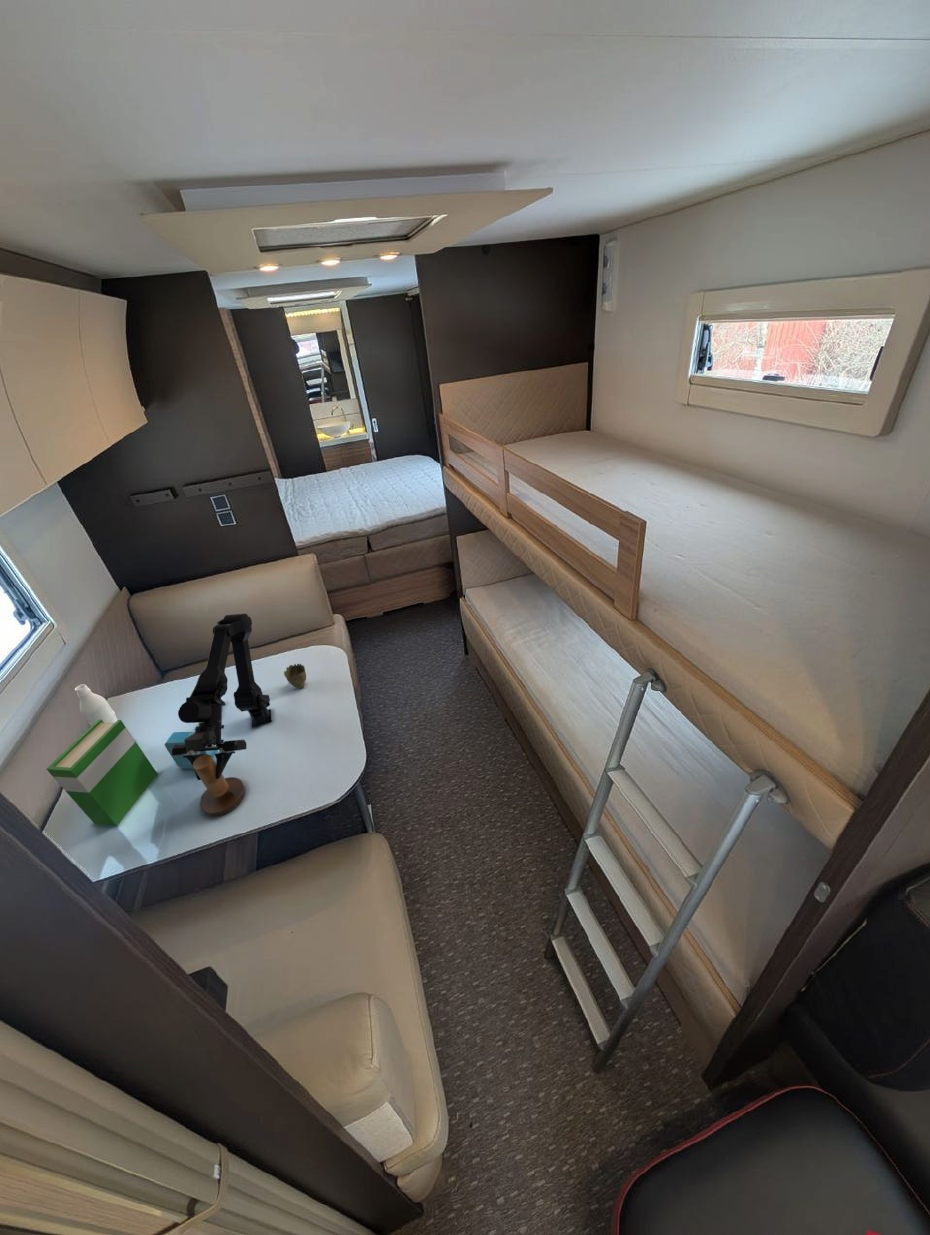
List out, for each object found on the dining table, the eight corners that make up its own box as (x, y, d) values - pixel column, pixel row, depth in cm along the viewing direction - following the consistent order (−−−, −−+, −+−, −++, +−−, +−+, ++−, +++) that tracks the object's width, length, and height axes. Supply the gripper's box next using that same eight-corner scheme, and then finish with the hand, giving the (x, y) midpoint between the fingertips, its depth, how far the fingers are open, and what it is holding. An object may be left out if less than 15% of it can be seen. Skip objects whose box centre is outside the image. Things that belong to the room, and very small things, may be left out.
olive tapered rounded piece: (304, 693, 175) (298, 676, 171) (286, 692, 177) (279, 675, 172) (313, 680, 181) (307, 663, 177) (296, 678, 183) (290, 662, 178)
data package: (221, 756, 153) (207, 730, 146) (215, 768, 149) (199, 742, 143) (186, 757, 154) (170, 731, 147) (179, 769, 150) (162, 743, 144)
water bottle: (133, 740, 163) (96, 685, 149) (110, 753, 159) (69, 698, 145) (127, 730, 167) (90, 676, 154) (104, 743, 163) (64, 688, 149)
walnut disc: (204, 790, 143) (201, 785, 141) (246, 775, 146) (243, 771, 144) (200, 823, 133) (197, 819, 132) (245, 807, 136) (243, 803, 135)
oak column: (221, 780, 140) (204, 751, 133) (232, 786, 138) (215, 757, 131) (206, 793, 137) (188, 765, 130) (218, 800, 134) (200, 771, 127)
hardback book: (137, 773, 151) (98, 719, 137) (158, 774, 149) (120, 719, 136) (94, 824, 136) (46, 768, 123) (116, 825, 135) (70, 770, 122)
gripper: (159, 725, 128) (156, 786, 125) (226, 720, 127) (225, 781, 124) (185, 724, 139) (183, 780, 136) (247, 719, 138) (246, 775, 135)
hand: (208, 779), depth 132 cm, fingers closed on oak column, 5 cm apart
